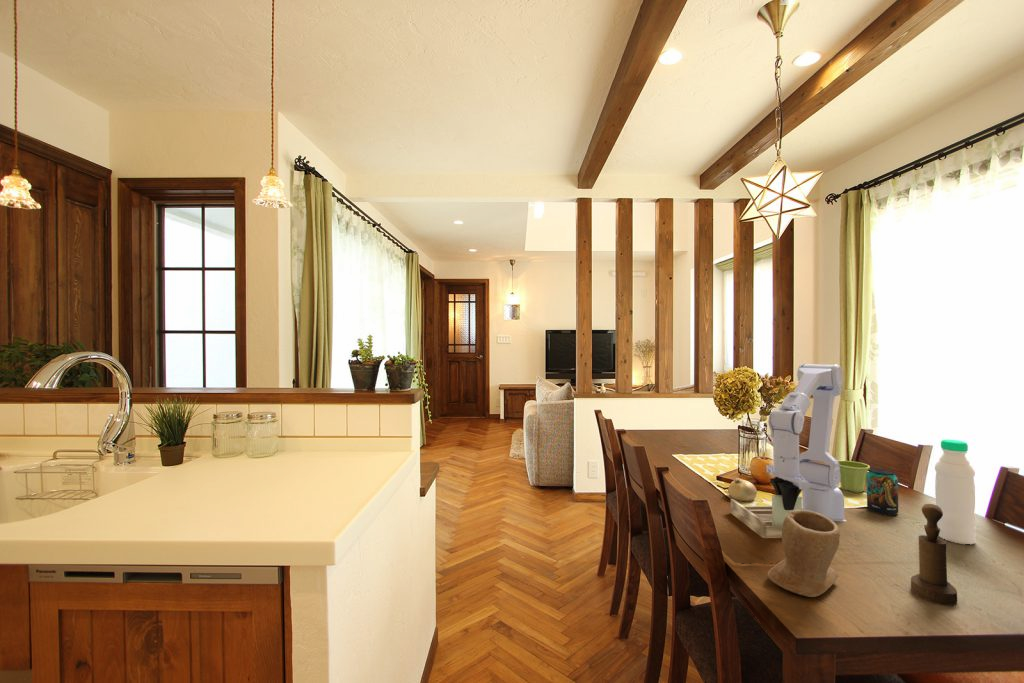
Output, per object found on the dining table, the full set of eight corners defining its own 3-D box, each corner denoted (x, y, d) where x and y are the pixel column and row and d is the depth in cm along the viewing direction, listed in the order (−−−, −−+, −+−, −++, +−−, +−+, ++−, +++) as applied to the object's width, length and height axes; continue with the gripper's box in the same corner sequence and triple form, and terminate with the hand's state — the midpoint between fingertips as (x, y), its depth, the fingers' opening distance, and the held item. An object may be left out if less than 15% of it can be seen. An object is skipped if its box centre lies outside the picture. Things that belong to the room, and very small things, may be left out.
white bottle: (966, 536, 110) (965, 439, 110) (982, 548, 103) (980, 445, 104) (930, 531, 113) (929, 436, 113) (943, 542, 106) (942, 442, 107)
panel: (772, 525, 112) (772, 495, 112) (798, 525, 112) (798, 495, 112) (774, 527, 110) (774, 496, 110) (801, 527, 110) (801, 496, 110)
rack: (730, 515, 125) (730, 499, 125) (784, 514, 124) (784, 499, 124) (762, 540, 109) (762, 522, 109) (824, 539, 108) (823, 521, 108)
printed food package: (878, 515, 123) (877, 474, 123) (861, 506, 130) (860, 467, 130) (904, 516, 122) (904, 474, 122) (886, 507, 129) (886, 467, 129)
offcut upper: (751, 517, 119) (751, 513, 119) (789, 518, 118) (789, 514, 118) (758, 523, 115) (758, 519, 115) (797, 524, 114) (797, 520, 114)
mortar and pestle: (901, 586, 87) (900, 499, 88) (930, 585, 88) (929, 497, 88) (936, 606, 81) (935, 511, 81) (967, 604, 81) (965, 510, 81)
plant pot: (845, 493, 141) (844, 467, 141) (829, 484, 151) (828, 459, 151) (877, 495, 140) (876, 468, 140) (858, 485, 149) (858, 460, 149)
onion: (734, 494, 142) (734, 472, 142) (760, 500, 136) (760, 478, 136) (724, 500, 137) (724, 478, 137) (751, 506, 131) (751, 483, 131)
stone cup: (825, 612, 79) (824, 532, 80) (759, 583, 89) (758, 511, 89) (857, 586, 88) (856, 513, 88) (793, 562, 98) (792, 496, 98)
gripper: (755, 449, 118) (755, 498, 118) (788, 464, 104) (789, 519, 104) (780, 449, 118) (781, 498, 118) (817, 463, 104) (818, 519, 104)
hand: (786, 508), depth 111 cm, fingers closed on panel, 1 cm apart
